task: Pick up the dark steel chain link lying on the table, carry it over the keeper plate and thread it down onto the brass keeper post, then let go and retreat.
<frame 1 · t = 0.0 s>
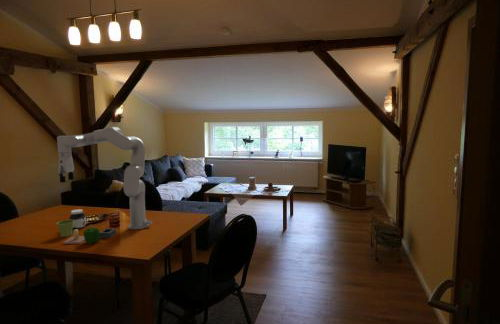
hand: (67, 180, 213), 31 cm above the table, fingers open, 9 cm apart
keeper: (76, 240, 192), on the table
link: (107, 235, 200), on the table
bell pepper: (92, 242, 189), on the table
plant pot: (66, 235, 201), on the table
spread jar: (76, 227, 217), on the table
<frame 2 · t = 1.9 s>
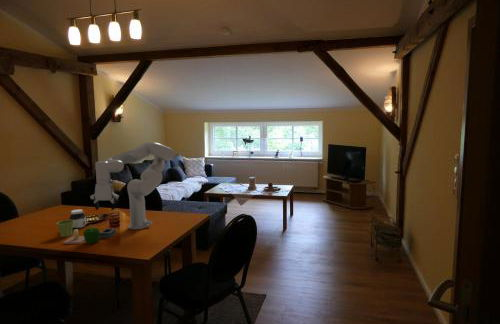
hand: (105, 209, 198), 16 cm above the table, fingers open, 9 cm apart
nothing on the table moved.
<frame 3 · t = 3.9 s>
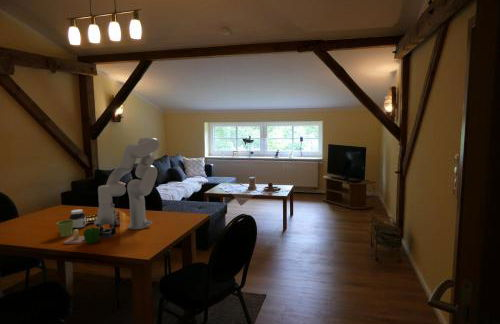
hand: (107, 234, 200), 1 cm above the table, fingers closed on link, 6 cm apart
link: (107, 235, 200), on the table, touching gripper
everything else where it was.
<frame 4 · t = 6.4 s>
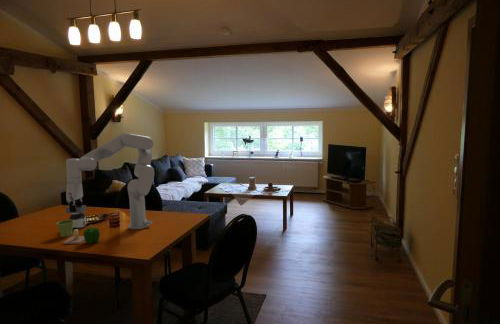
hand: (76, 210, 190), 18 cm above the table, fingers closed on link, 6 cm apart
link: (76, 211, 190), point 17 cm above the table, touching gripper
everything else where it was.
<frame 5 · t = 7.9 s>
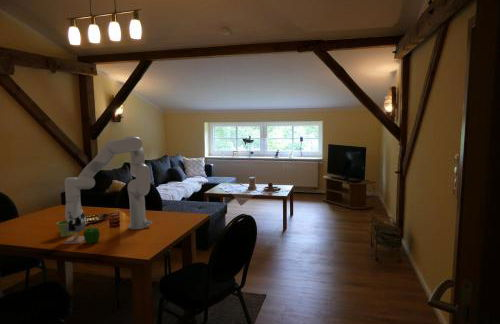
hand: (75, 228, 191), 7 cm above the table, fingers closed on link, 6 cm apart
link: (75, 230, 191), point 6 cm above the table, touching gripper
everything else where it was.
when the fingers open (5 cm above the table, at t = 8.8 s): link drops 3 cm, resting on keeper.
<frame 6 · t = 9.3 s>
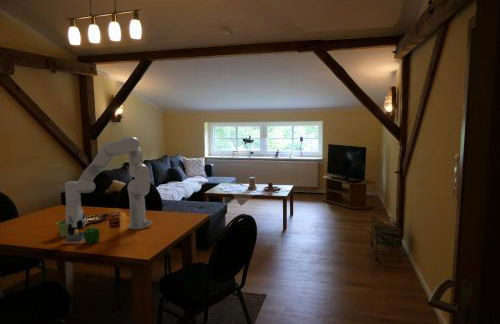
hand: (75, 231, 191), 6 cm above the table, fingers open, 9 cm apart
link: (76, 238, 192), point 1 cm above the table, touching keeper
everything else where it was.
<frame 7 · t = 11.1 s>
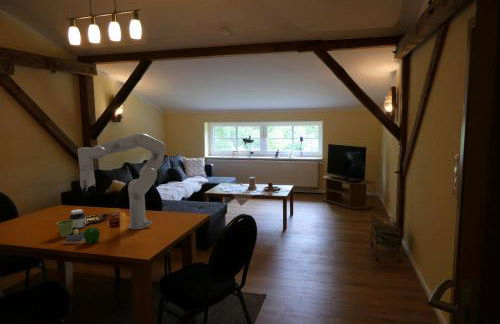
hand: (89, 195, 200), 25 cm above the table, fingers open, 9 cm apart
nothing on the table moved.
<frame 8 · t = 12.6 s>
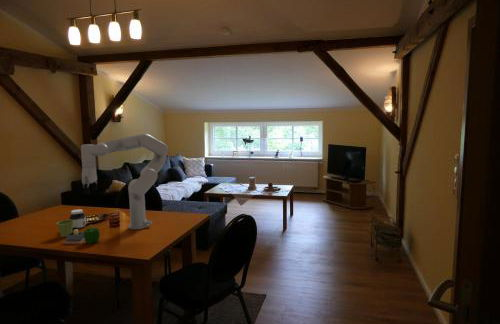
hand: (90, 192, 202), 26 cm above the table, fingers open, 9 cm apart
nothing on the table moved.
at the end: link 0.1 cm off-centre on the keeper, point 1.0 cm above the keeper's base; the gripper is holding nothing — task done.
